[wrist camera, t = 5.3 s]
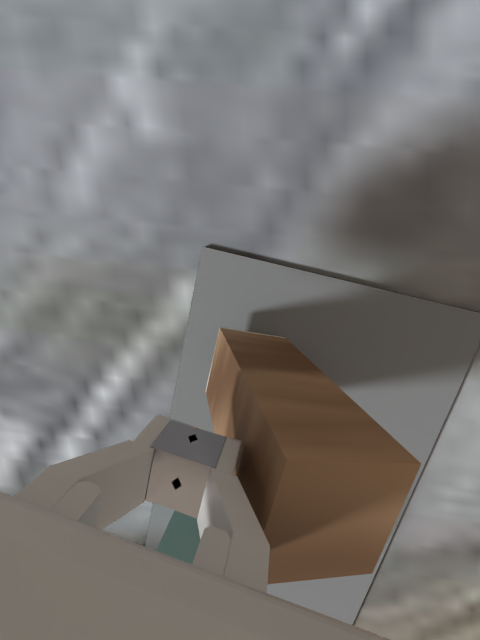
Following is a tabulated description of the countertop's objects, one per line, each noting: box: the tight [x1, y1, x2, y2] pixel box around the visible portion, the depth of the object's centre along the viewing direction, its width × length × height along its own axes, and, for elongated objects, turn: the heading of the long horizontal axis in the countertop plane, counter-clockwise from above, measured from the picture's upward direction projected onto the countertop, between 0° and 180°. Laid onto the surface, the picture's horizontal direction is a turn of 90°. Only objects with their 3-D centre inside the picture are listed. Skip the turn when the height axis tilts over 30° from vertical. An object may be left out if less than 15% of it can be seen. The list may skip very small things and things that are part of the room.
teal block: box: [156, 510, 201, 564], centre depth 16 cm, size 4×4×10 cm
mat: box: [145, 247, 480, 625], centre depth 19 cm, size 26×16×1 cm, turn 167°
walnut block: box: [206, 327, 421, 584], centre depth 12 cm, size 4×4×10 cm
